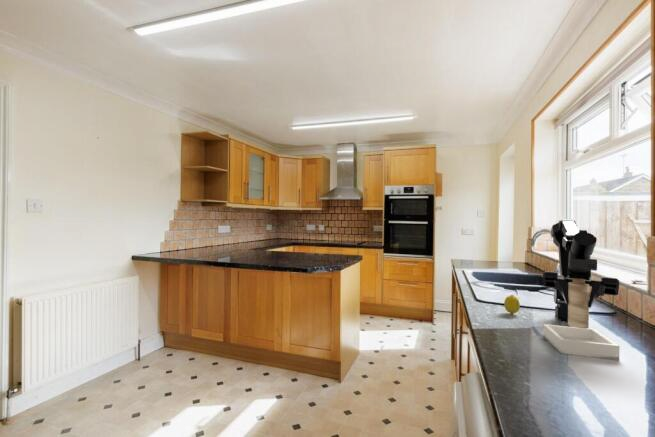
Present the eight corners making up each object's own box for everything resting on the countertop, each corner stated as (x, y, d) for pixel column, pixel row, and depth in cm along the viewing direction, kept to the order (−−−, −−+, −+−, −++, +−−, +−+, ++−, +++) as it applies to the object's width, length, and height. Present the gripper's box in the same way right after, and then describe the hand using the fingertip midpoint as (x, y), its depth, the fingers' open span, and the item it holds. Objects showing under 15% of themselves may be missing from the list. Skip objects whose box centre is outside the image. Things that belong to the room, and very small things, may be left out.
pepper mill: (577, 322, 100) (578, 277, 99) (593, 328, 95) (593, 280, 94) (563, 323, 99) (564, 277, 99) (578, 328, 94) (578, 281, 94)
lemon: (521, 317, 125) (522, 297, 125) (506, 316, 126) (507, 296, 126) (516, 312, 131) (516, 293, 131) (502, 311, 132) (502, 293, 132)
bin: (593, 341, 101) (593, 328, 101) (619, 360, 88) (619, 346, 88) (543, 335, 105) (543, 324, 105) (560, 353, 92) (560, 339, 92)
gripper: (543, 247, 105) (539, 285, 97) (619, 251, 94) (622, 295, 85) (545, 267, 112) (542, 305, 103) (616, 273, 100) (619, 317, 91)
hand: (578, 305), depth 96 cm, fingers closed on pepper mill, 5 cm apart
